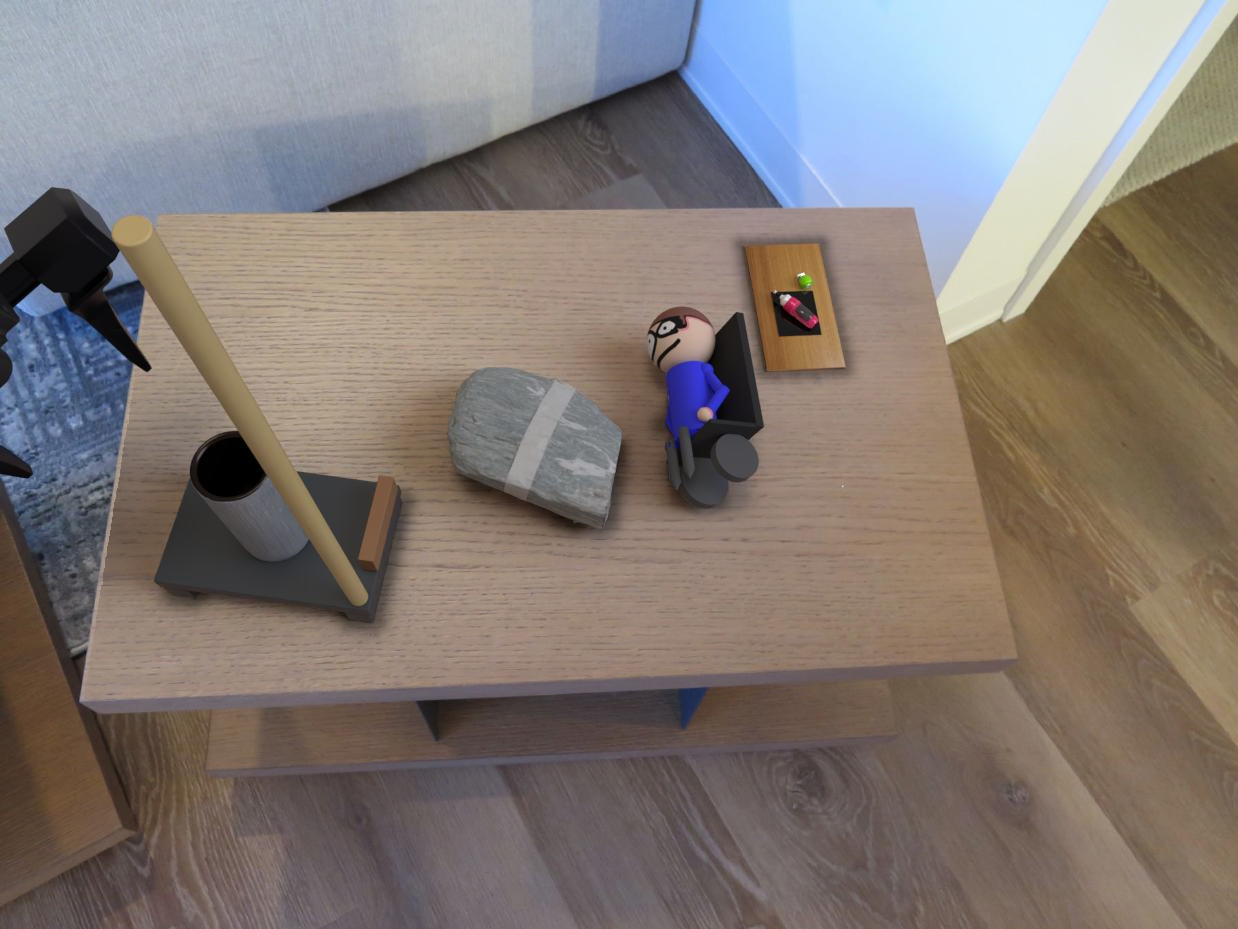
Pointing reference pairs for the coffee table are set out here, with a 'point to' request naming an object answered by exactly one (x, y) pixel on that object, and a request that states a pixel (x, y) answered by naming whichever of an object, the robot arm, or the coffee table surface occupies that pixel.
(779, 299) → the board
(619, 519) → the coffee table surface
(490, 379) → the decorative stone
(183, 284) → the stand with wooden pole
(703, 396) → the character figurine
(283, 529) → the planter
